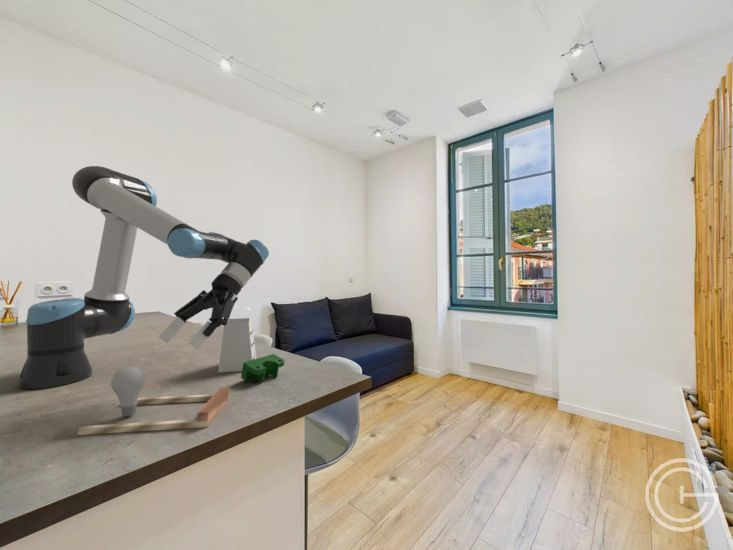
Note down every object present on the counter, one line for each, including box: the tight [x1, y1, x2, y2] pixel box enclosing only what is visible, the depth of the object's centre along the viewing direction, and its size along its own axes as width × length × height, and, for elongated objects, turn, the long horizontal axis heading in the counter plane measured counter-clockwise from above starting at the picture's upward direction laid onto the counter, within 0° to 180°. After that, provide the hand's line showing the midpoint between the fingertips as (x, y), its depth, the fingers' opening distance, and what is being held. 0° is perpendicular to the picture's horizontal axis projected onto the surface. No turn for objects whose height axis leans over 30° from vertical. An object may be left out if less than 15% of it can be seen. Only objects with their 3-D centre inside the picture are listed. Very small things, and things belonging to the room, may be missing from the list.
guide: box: [77, 386, 230, 436], centre depth 68 cm, size 24×14×3 cm, turn 98°
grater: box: [217, 306, 257, 373], centre depth 102 cm, size 10×10×20 cm
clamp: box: [240, 353, 285, 383], centre depth 91 cm, size 12×6×9 cm, turn 142°
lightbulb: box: [110, 365, 147, 418], centre depth 67 cm, size 6×6×11 cm
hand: (177, 343), depth 76 cm, fingers open, 13 cm apart
